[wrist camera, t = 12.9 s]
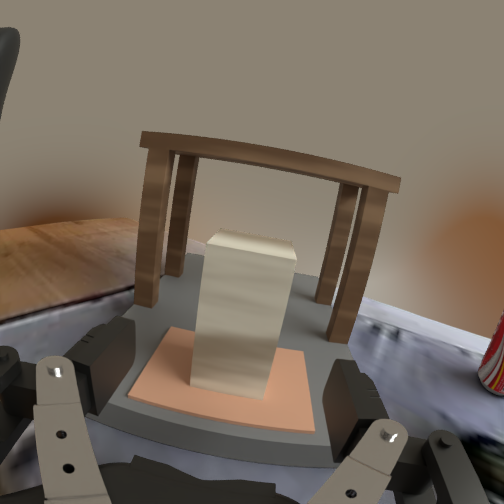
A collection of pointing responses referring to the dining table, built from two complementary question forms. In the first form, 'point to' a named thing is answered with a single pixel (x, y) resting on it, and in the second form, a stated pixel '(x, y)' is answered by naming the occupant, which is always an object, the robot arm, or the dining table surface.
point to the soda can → (494, 362)
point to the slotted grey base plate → (224, 405)
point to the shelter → (273, 158)
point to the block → (240, 312)
